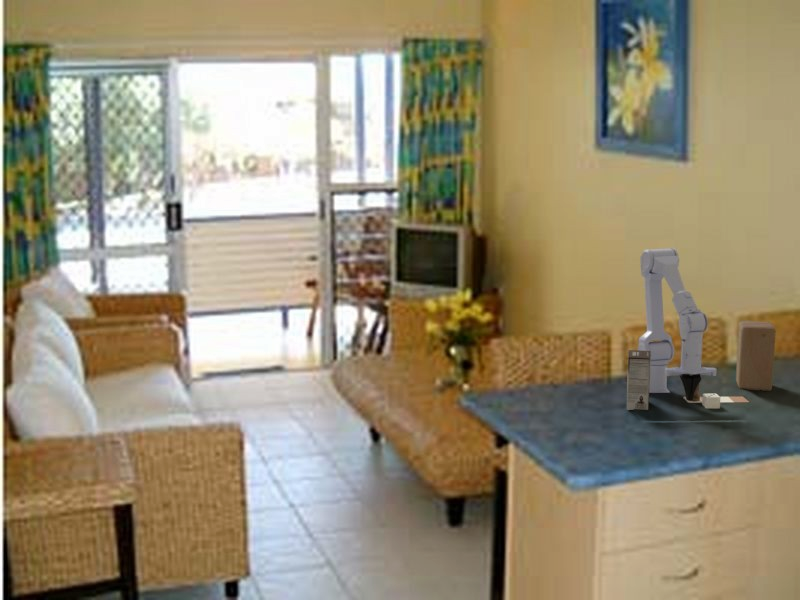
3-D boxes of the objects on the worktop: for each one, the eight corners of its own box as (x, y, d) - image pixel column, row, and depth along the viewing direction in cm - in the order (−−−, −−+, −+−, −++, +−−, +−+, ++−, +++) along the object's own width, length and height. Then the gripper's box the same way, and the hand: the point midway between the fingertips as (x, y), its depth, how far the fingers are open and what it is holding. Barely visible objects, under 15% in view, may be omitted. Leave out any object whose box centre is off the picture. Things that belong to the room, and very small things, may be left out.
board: (688, 404, 331) (688, 402, 330) (683, 398, 337) (683, 396, 336) (749, 404, 331) (749, 402, 331) (742, 398, 337) (742, 396, 337)
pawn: (688, 401, 332) (689, 380, 330) (685, 397, 335) (686, 376, 334) (701, 401, 332) (702, 380, 330) (697, 397, 335) (698, 376, 334)
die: (706, 410, 325) (706, 397, 324) (702, 406, 329) (702, 393, 328) (719, 410, 325) (720, 397, 324) (715, 406, 329) (716, 393, 328)
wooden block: (772, 391, 344) (776, 328, 340) (738, 390, 346) (741, 326, 342) (768, 383, 354) (772, 321, 350) (735, 381, 355) (738, 320, 352)
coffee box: (626, 401, 333) (628, 349, 330) (648, 403, 332) (650, 350, 329) (626, 410, 325) (628, 356, 322) (648, 411, 323) (651, 357, 320)
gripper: (669, 357, 320) (667, 403, 322) (720, 357, 320) (718, 403, 322) (663, 351, 326) (661, 396, 329) (713, 351, 327) (711, 396, 329)
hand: (689, 399), depth 326 cm, fingers closed
